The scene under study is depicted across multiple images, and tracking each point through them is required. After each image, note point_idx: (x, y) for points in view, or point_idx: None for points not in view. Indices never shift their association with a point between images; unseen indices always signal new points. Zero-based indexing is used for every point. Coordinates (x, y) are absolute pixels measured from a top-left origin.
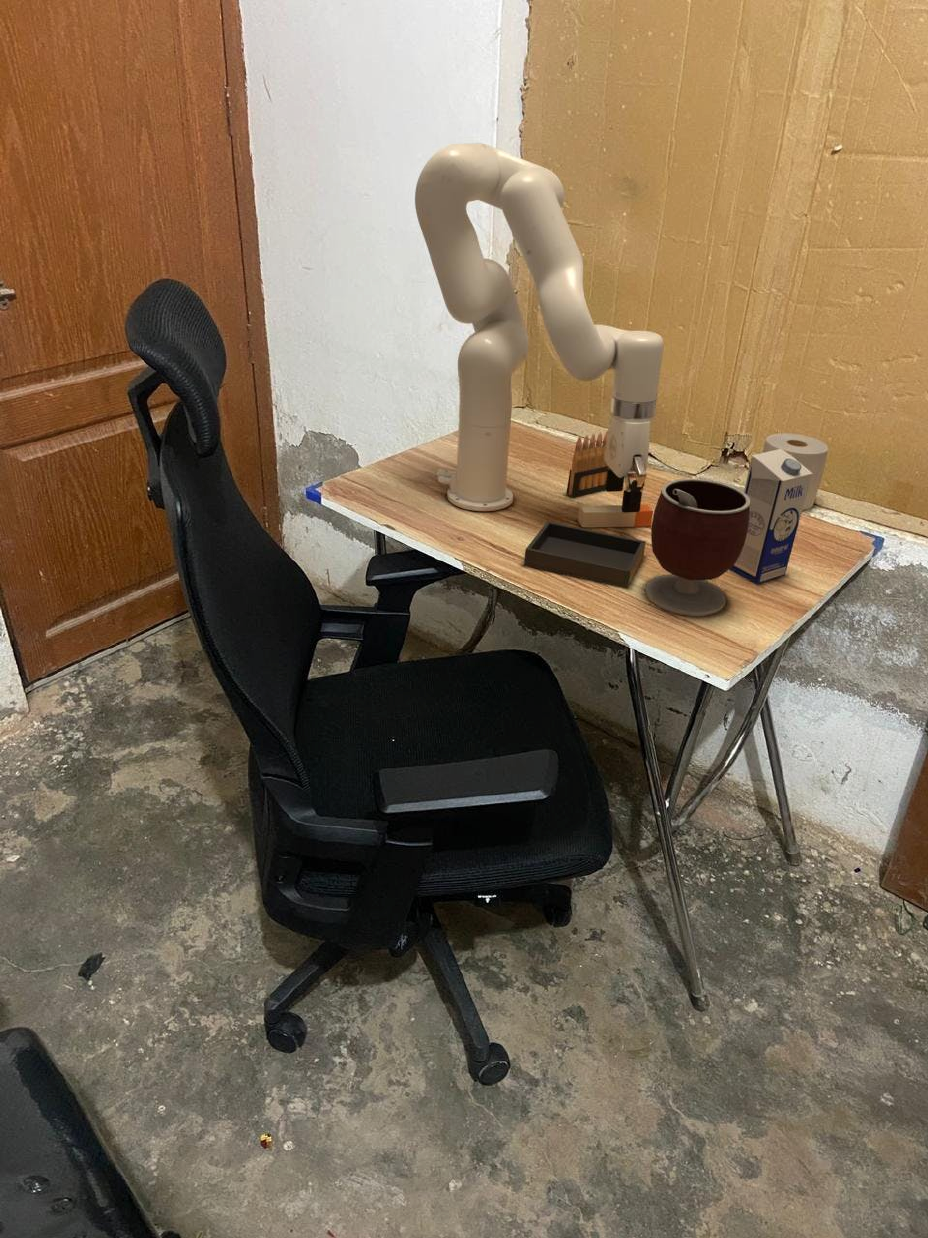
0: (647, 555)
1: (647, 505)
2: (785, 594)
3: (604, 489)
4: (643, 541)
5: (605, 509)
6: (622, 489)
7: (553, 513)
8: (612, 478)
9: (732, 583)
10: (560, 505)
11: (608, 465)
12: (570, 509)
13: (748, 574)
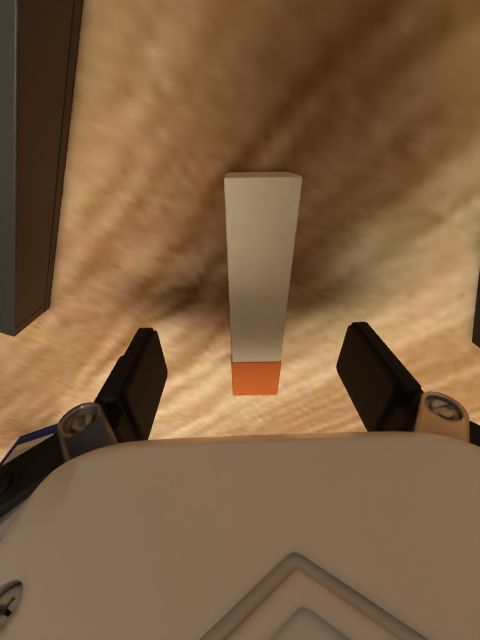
0: (65, 319)
1: (268, 392)
2: (5, 451)
3: (476, 323)
4: (5, 330)
5: (251, 281)
6: (337, 371)
7: (388, 56)
8: (371, 374)
9: (3, 414)
10: (451, 129)
11: (341, 442)
12: (396, 168)
13: (27, 440)
